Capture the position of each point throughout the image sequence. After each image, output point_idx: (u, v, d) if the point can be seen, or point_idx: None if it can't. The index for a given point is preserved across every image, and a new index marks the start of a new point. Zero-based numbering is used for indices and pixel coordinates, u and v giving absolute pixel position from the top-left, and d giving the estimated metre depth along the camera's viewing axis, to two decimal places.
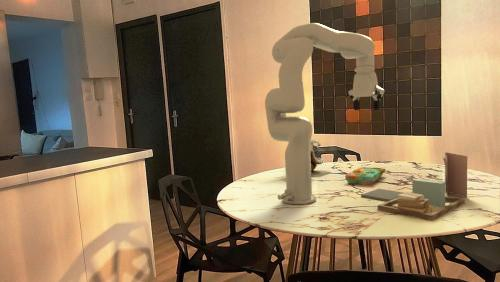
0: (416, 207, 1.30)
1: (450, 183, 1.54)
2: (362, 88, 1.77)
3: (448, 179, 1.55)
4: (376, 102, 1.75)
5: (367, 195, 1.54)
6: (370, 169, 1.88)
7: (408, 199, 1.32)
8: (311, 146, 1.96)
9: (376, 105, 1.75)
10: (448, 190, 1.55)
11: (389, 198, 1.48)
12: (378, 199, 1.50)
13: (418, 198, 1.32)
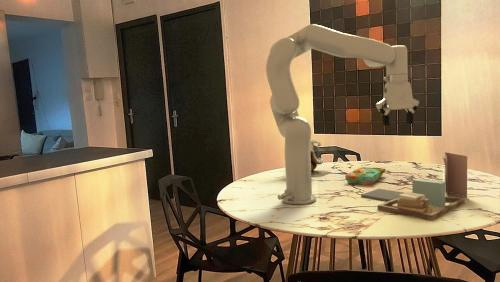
0: (416, 207, 1.30)
1: (450, 183, 1.54)
2: (401, 99, 1.53)
3: (448, 179, 1.55)
4: None
5: (367, 195, 1.54)
6: (370, 169, 1.88)
7: (409, 199, 1.32)
8: (311, 146, 1.95)
9: None
10: (448, 190, 1.55)
11: (389, 198, 1.48)
12: (378, 199, 1.50)
13: (419, 198, 1.31)
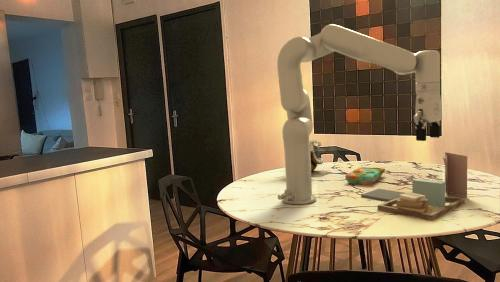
0: (414, 207, 1.30)
1: (450, 183, 1.54)
2: (436, 111, 1.36)
3: (448, 179, 1.55)
4: None
5: (367, 195, 1.54)
6: (370, 169, 1.88)
7: (409, 199, 1.32)
8: (312, 146, 1.95)
9: None
10: (448, 190, 1.55)
11: (389, 198, 1.48)
12: (378, 199, 1.50)
13: (419, 198, 1.31)
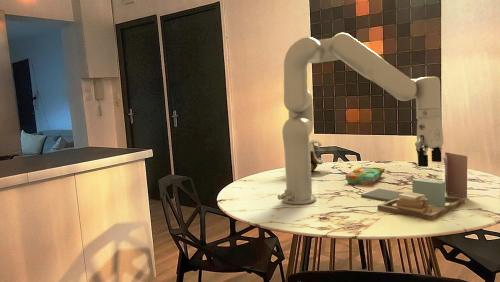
0: (415, 207, 1.30)
1: (450, 183, 1.54)
2: (437, 136, 1.37)
3: (448, 179, 1.55)
4: None
5: (367, 195, 1.54)
6: (369, 169, 1.88)
7: (408, 199, 1.32)
8: (312, 146, 1.95)
9: None
10: (448, 190, 1.55)
11: (389, 198, 1.48)
12: (378, 199, 1.50)
13: (418, 198, 1.31)
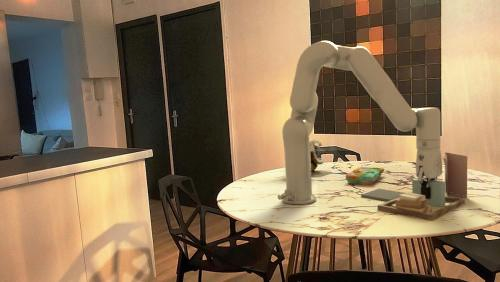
0: (414, 207, 1.31)
1: (450, 183, 1.54)
2: (436, 167, 1.38)
3: (448, 179, 1.55)
4: None
5: (367, 195, 1.54)
6: (369, 169, 1.88)
7: (409, 199, 1.32)
8: (312, 146, 1.95)
9: None
10: (448, 190, 1.55)
11: (389, 198, 1.48)
12: (378, 199, 1.50)
13: (419, 198, 1.31)
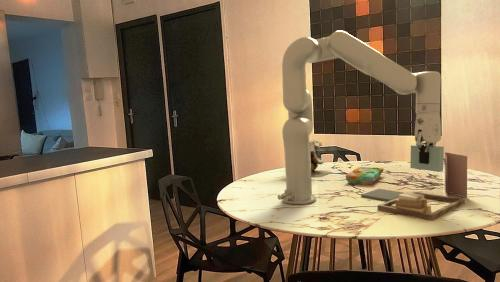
0: (414, 207, 1.31)
1: (450, 183, 1.54)
2: (435, 131, 1.37)
3: (448, 179, 1.55)
4: None
5: (367, 195, 1.54)
6: (368, 169, 1.88)
7: (409, 199, 1.32)
8: (313, 146, 1.95)
9: None
10: (448, 190, 1.55)
11: (389, 198, 1.48)
12: (378, 199, 1.50)
13: (419, 198, 1.31)
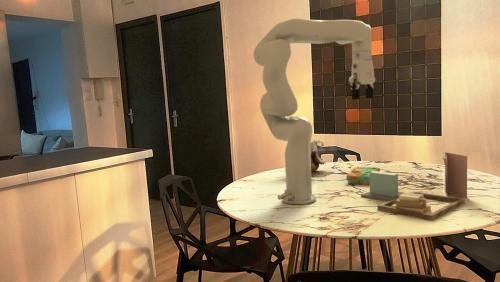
0: (415, 207, 1.31)
1: (450, 183, 1.54)
2: (368, 75, 1.65)
3: (448, 179, 1.55)
4: None
5: (367, 195, 1.54)
6: (366, 169, 1.89)
7: (410, 199, 1.32)
8: (315, 146, 1.95)
9: None
10: (448, 190, 1.55)
11: (389, 198, 1.48)
12: (378, 199, 1.50)
13: (420, 198, 1.32)
